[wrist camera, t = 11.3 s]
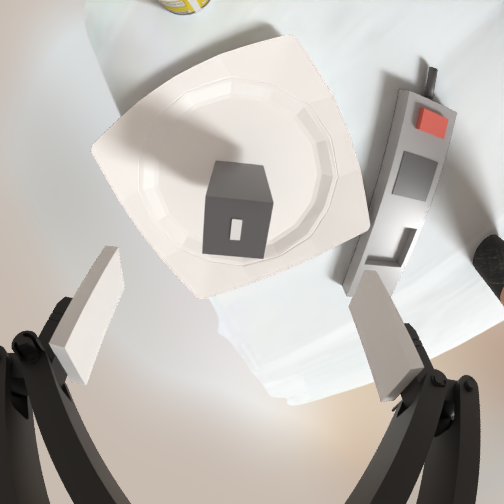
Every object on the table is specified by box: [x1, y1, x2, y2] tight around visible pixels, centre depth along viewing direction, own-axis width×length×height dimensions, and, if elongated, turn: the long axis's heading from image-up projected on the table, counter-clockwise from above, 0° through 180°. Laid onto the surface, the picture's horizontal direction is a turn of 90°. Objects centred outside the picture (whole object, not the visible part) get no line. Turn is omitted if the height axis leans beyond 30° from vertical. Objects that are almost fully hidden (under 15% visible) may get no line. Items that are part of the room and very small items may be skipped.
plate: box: [91, 35, 370, 300], centre depth 29 cm, size 24×24×3 cm
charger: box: [202, 161, 274, 259], centre depth 24 cm, size 4×4×9 cm
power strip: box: [342, 67, 457, 297], centre depth 29 cm, size 30×7×3 cm, turn 173°
